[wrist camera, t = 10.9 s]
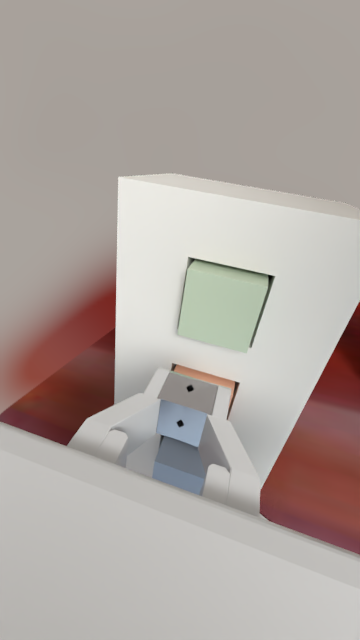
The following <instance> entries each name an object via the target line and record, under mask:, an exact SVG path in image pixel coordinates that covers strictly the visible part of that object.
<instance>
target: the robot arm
mask: <svg viewBox="0 0 360 640" xmlns="http://www.w3.org/2000/svg"><path fill="white" fill-rule="evenodd" d="M230 396H231V388H228V387H225V386H221V385H217V384H213V383H210V382H206V381H203V380H200V379H196V378H193V377H190V376H187V375H183V374H180V373H177V372H174V371H170V370H167V369H164V368H161V367H159V368H157V370H156V372H155V373H154V375H153V377H152V379H151V380H150V382H149V384H148V386H147V388H146V389H145V391H144V393H143V394H142V393H138V394H136V395H134V396H132V397H130V398H128V399H126V400H124V401H122V402H120V403H117V404H115V405H113V406H111V407H109V408H107V409H105V410H103V411H101V412H99V413H97V414H95V415H93V416H91V417H89V418H87V419H86V420H85V422H84V423H83V424H82V426H81V427H80V428H79V430H78V431H77V433H76V434H75V435H74V437H73V438H72V439H71V441H70V442H69V443H68V445H67V446H65V445H62V444H59V443H57V442H54V441H51V440H49V439H46V438H43V437H40V436H38V435H35V434H32V433H30V432H27V431H24V430H22V429H19V428H16V427H13V426H11V425H8V424H5V423H3V422H0V640H360V555H359V554H356V553H354V552H351V551H348V550H346V549H343V548H340V547H337V546H335V545H332V544H329V543H327V542H324V541H321V540H319V539H316V538H313V537H310V536H308V535H305V534H302V533H300V532H297V531H294V530H292V529H289V528H286V527H284V526H281V525H278V524H275V523H273V522H270V521H267V520H265V519H262V518H259V512H260V477H259V476H258V474H257V472H256V470H255V468H254V466H253V464H252V462H251V460H250V458H249V456H248V454H247V453H246V451H245V449H244V447H243V445H242V443H241V441H240V439H239V437H238V435H237V433H236V432H235V430H234V428H233V426H232V424H231V422H230V421H227V414H228V408H229V402H230ZM156 433H158V434H161V435H164V436H167V437H171V438H174V439H177V440H180V441H182V442H185V443H188V444H191V445H193V446H196V447H198V450H199V454H200V457H201V461H202V464H203V467H204V471H205V474H206V476H205V479H204V482H203V485H202V488H201V491H200V494H199V495H197V494H194V493H191V492H189V491H186V490H183V489H181V488H178V487H175V486H173V485H170V484H167V483H164V482H162V481H159V480H156V479H154V478H151V477H148V476H146V475H143V474H140V473H138V472H135V471H132V470H129V469H127V468H126V459H127V456H128V455H129V454H130V453H131V452H133V451H134V450H135V449H137V448H138V447H139V446H141V445H142V444H143V443H145V442H146V441H147V440H149V439H150V438H151V437H153V436H154V435H155V434H156Z"/></svg>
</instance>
